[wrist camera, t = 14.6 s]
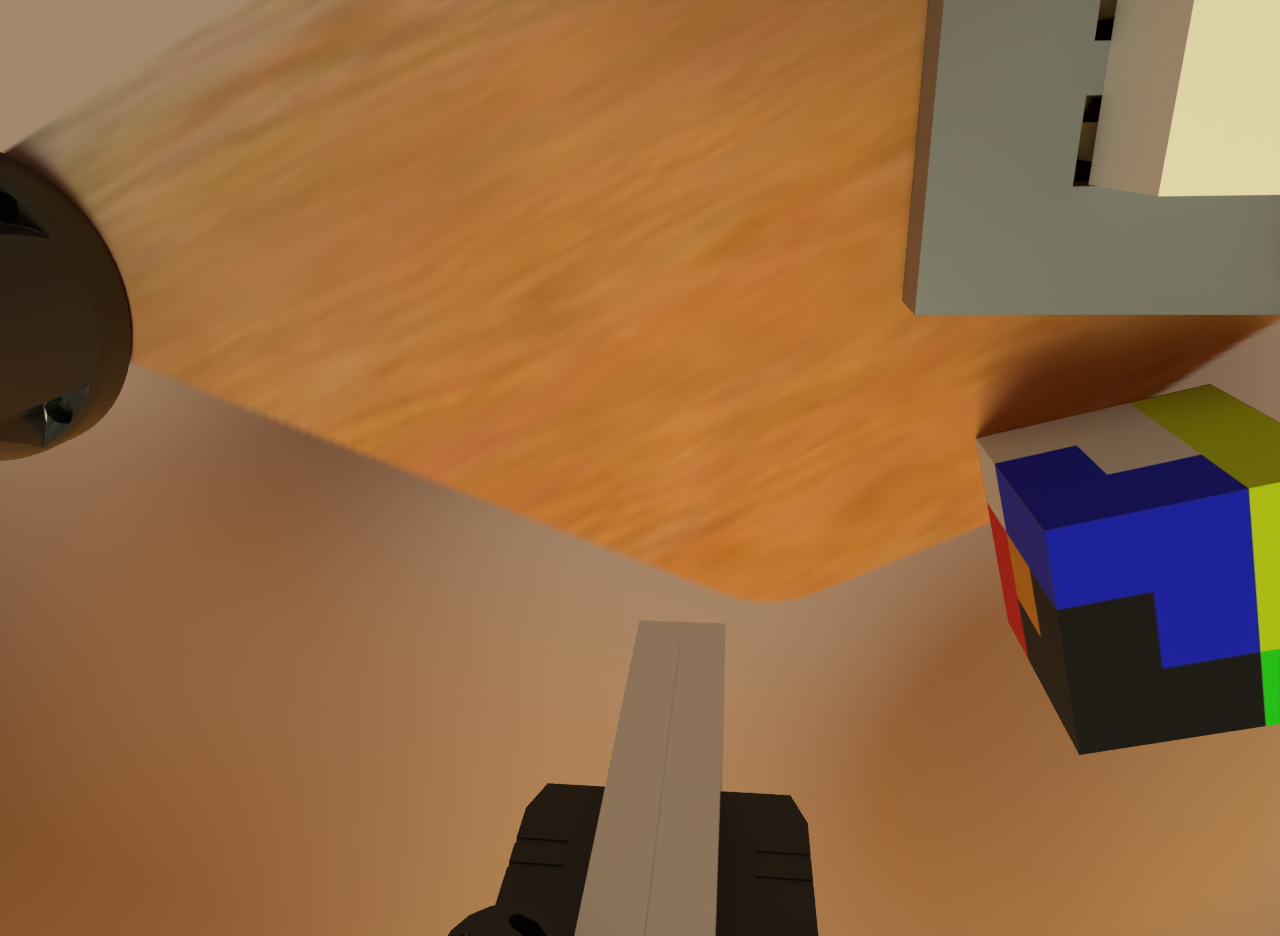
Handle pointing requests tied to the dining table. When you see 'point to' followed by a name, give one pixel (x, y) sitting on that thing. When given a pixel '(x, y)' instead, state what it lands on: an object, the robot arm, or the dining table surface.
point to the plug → (1188, 99)
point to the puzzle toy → (1144, 564)
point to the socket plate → (1056, 187)
